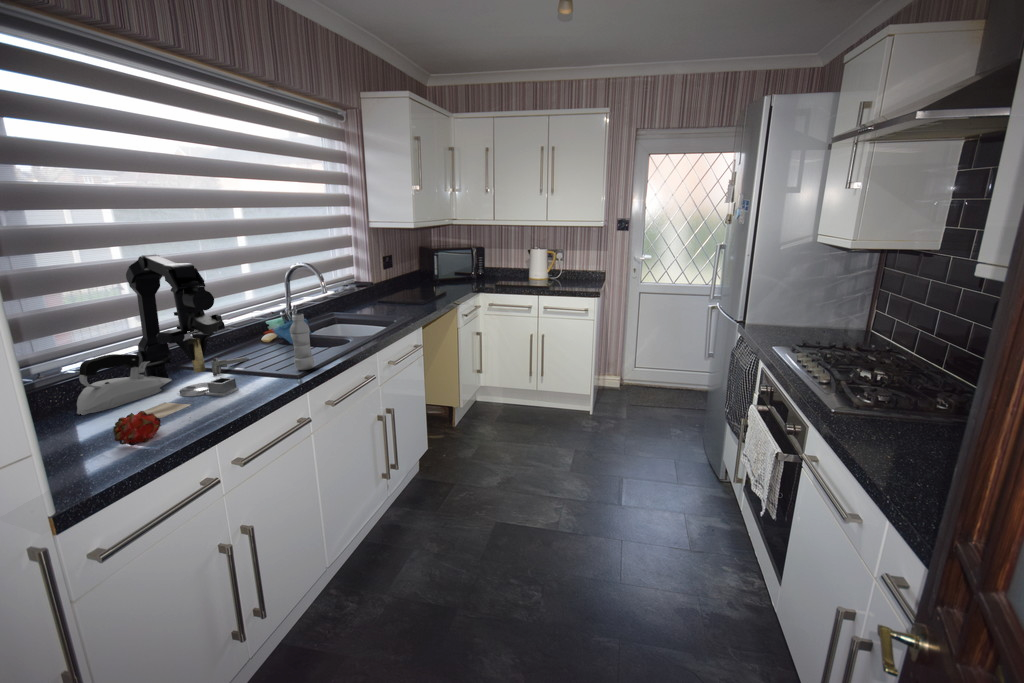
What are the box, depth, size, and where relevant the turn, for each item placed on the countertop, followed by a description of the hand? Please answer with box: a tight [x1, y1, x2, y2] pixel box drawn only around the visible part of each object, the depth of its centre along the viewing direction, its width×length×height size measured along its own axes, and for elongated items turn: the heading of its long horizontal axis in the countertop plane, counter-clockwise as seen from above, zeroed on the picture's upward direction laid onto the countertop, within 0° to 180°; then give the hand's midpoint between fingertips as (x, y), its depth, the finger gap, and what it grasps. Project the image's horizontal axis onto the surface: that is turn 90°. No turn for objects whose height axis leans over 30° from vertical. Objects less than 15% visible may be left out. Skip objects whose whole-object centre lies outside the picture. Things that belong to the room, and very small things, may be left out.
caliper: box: [211, 356, 250, 376], centre depth 190 cm, size 20×1×6 cm, turn 176°
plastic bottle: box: [289, 313, 315, 371], centre depth 183 cm, size 6×7×20 cm
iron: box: [76, 353, 173, 416], centre depth 157 cm, size 11×24×15 cm, turn 156°
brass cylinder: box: [191, 337, 206, 374], centre depth 155 cm, size 3×3×10 cm
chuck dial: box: [179, 376, 239, 398], centre depth 164 cm, size 18×11×4 cm, turn 75°
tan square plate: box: [134, 401, 191, 419], centre depth 149 cm, size 10×10×1 cm
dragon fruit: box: [112, 410, 162, 447], centre depth 129 cm, size 8×8×12 cm
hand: (197, 358), depth 155 cm, fingers closed on brass cylinder, 3 cm apart
